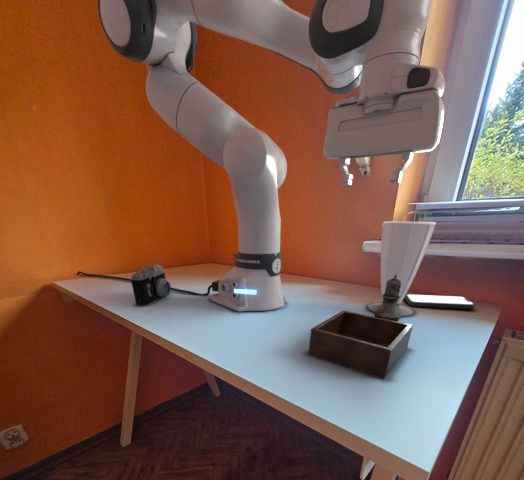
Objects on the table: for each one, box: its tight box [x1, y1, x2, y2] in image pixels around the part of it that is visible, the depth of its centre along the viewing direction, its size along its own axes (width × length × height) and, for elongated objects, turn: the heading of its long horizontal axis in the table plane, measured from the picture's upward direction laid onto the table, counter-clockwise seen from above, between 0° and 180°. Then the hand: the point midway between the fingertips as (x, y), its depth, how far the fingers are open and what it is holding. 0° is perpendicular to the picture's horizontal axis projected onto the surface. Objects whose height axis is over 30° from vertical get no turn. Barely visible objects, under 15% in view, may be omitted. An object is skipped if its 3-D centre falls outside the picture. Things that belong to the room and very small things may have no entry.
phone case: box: [404, 294, 476, 310], centre depth 78 cm, size 9×2×16 cm
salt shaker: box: [372, 274, 402, 322], centre depth 59 cm, size 6×6×12 cm
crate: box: [308, 310, 414, 379], centre depth 50 cm, size 14×14×5 cm
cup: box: [367, 220, 437, 318], centre depth 69 cm, size 12×12×22 cm
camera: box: [130, 263, 172, 307], centre depth 80 cm, size 15×7×10 cm, turn 171°
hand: (369, 184), depth 53 cm, fingers open, 8 cm apart
